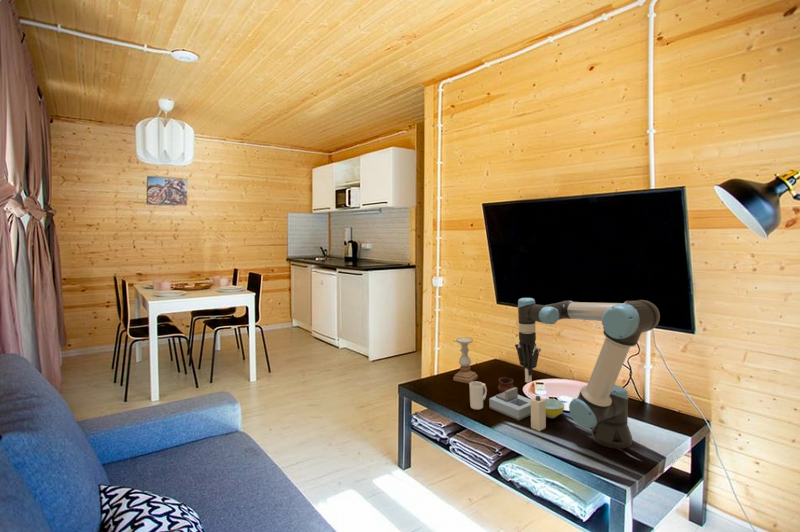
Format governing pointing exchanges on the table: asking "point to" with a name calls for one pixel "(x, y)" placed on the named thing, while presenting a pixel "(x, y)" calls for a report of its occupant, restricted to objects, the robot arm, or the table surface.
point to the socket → (512, 407)
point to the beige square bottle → (538, 413)
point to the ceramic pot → (505, 384)
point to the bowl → (553, 408)
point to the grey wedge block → (508, 394)
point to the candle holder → (465, 363)
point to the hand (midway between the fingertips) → (528, 381)
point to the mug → (477, 394)
